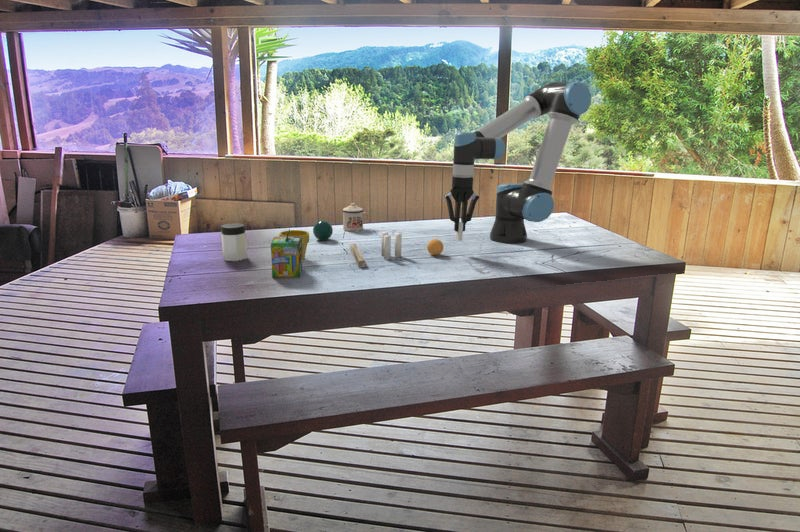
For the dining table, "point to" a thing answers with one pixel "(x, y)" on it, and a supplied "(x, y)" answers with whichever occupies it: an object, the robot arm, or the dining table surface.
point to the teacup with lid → (353, 218)
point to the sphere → (322, 230)
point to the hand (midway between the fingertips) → (459, 239)
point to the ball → (435, 247)
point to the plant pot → (298, 234)
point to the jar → (233, 242)
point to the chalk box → (286, 256)
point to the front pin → (398, 244)
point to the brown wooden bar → (357, 255)
